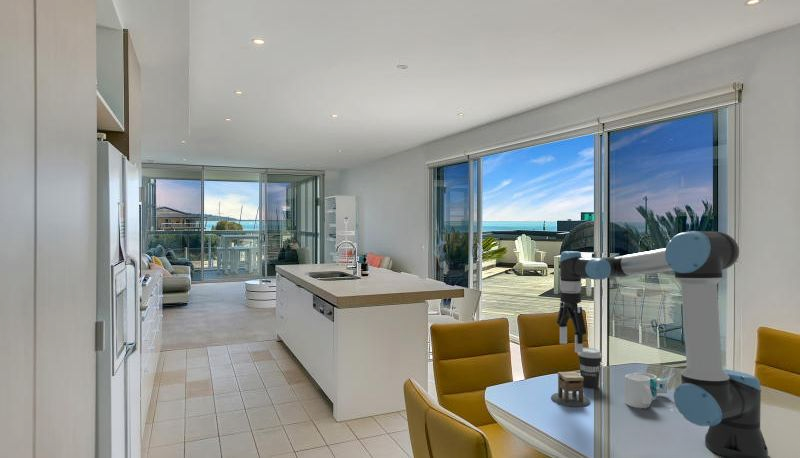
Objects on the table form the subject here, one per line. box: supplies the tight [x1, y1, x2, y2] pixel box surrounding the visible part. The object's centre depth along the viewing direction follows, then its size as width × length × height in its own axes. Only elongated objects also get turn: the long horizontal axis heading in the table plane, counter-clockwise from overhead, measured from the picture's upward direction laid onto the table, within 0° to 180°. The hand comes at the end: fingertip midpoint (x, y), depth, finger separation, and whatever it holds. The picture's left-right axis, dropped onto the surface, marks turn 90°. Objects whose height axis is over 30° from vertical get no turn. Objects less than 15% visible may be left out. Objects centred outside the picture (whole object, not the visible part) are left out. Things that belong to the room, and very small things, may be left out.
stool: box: [557, 371, 584, 402], centre depth 180 cm, size 7×7×9 cm
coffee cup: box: [577, 347, 603, 390], centre depth 196 cm, size 10×10×15 cm
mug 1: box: [624, 373, 653, 409], centre depth 173 cm, size 12×8×10 cm
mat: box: [550, 391, 591, 408], centre depth 180 cm, size 14×14×1 cm
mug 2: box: [633, 371, 668, 401], centre depth 184 cm, size 8×12×8 cm
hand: (570, 347), depth 180 cm, fingers open, 13 cm apart
